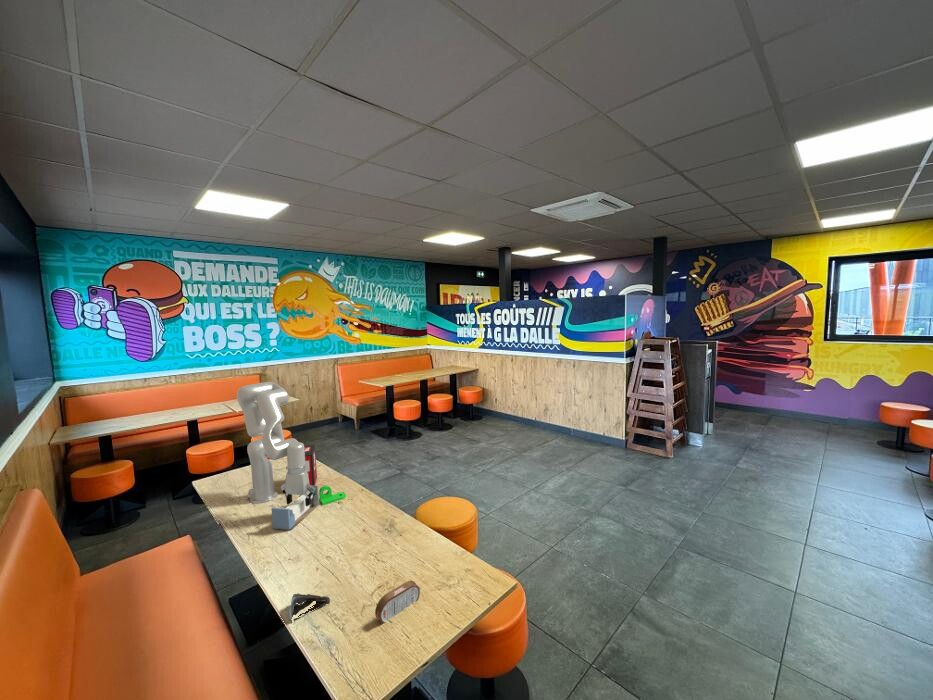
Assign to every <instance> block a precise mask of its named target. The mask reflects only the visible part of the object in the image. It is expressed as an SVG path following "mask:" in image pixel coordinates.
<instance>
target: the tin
mask: <svg viewBox="0 0 933 700" xmlns="http://www.w3.org/2000/svg"><path fill="white" fill-rule="evenodd" d="M420 593H421V589H420V587H419V585H418V584H417V583H416V582H415V581H414V580H408V581H405V582H403V583H402V584H401V585H399V586H396V587H395V588H394V589H391V590H390V591H388V592H387V593H385V594H383V596H382V597H381V598H380V599H379V601H378V603H377V604H376V607H375V609H374V614H375V617H376V618H377V619H378V621H380V623H381V624H385V623H386V622H387V621H389V620H390V619H391V618H393V617H395V616H396V615H398V614H400V613H401V612H403V611H404V610H405V609H407V608H409V607H410V606H412V605H413V604H414V603H416V602H418V600H419V599H420ZM399 612H400V613H399Z"/></svg>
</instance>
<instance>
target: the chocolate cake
mask: <svg viewBox="0 0 933 700" xmlns="http://www.w3.org/2000/svg"><path fill="white" fill-rule="evenodd" d="M306 600H307V601H309V602H312V601H316V604H315V605H313V606H314V607H313V606H312V607H313V608H311V607H310V608H311V609H308V611H306V612H305V613H302V614H306V613H308V612H309V611H312V610H314V609H316V608H318V607H320V608H322V607H324V606H326V605H325V604H329V605H330V602H331V599H330V597H329V596H325V595H322V596H320V595H316V594H310V593H307V594H302V593H299V592H297V593H294V594H293V595H292V597H291V601H290V606H289V611H288V614H289V619H292V617H293V614H294V609H295V608H294V606H295V604H296V603H298V604H302V603H303V602H306V603H307V601H306ZM302 605H303V604H302ZM323 605H324V606H323ZM321 606H322V607H321ZM295 607H296V606H295ZM318 609H319V608H318ZM316 610H317V609H316ZM314 611H315V610H314ZM312 612H313V611H312ZM302 614H300V615H299V616H301V615H302ZM308 614H309V613H308ZM306 615H307V614H306ZM299 616H298V617H299Z"/></svg>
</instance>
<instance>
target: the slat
mask: <svg viewBox="0 0 933 700" xmlns="http://www.w3.org/2000/svg"><path fill="white" fill-rule="evenodd" d="M306 493H307V492H306ZM307 494H308V493H307ZM299 496H300V495H299ZM299 496H298V498H297V499H295V500H294V501H292V502H291V503H290V504H289V505H287V506H286V507H285V508H286V509H289V510H290V516H291V515H292V514H295V520H297V519H298V518H299V517H300V516H301V515H302V514H303V513H304V512H306V511H307V510H308V509H309V508H310V507H311V506H312V505H313V498H312V497H313V494H312V495H311V504H309V505H308V506H306V505H305V498H306V497H305V495H301V496H300V497H299Z"/></svg>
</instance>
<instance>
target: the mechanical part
mask: <svg viewBox="0 0 933 700" xmlns="http://www.w3.org/2000/svg"><path fill="white" fill-rule="evenodd" d="M325 491H326V493H324V492H325ZM318 493H319V502H320V503H321V505H322V506H325V505H329V504H331V503H332V504H333V503H335V502H338V501H341V500H344V499H345V498H346V497H347V494H346V493H345V491H341V492H337V493H333V491H332V488H331V487H330V486H329V485H323V486H321V487H320V489H318Z"/></svg>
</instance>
